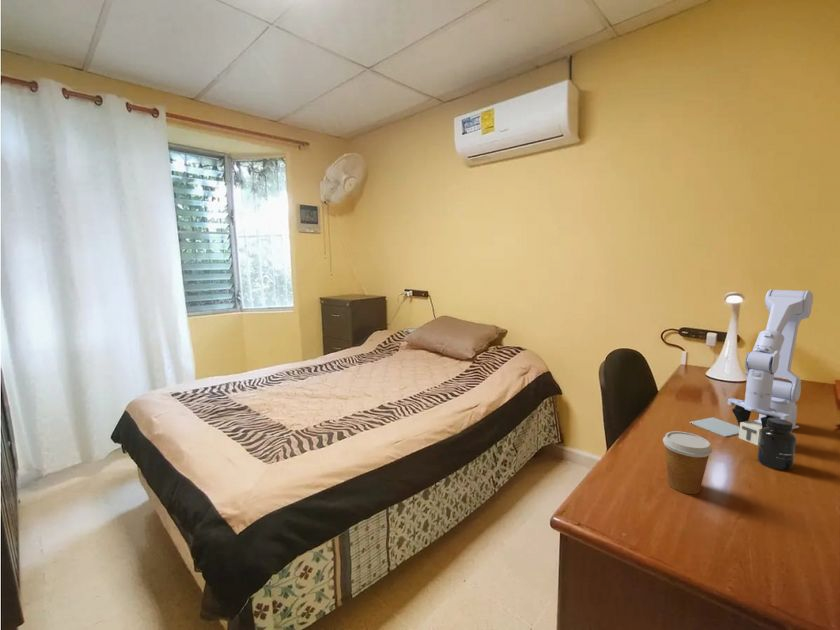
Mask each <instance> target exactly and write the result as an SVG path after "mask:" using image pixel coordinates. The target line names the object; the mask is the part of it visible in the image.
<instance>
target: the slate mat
mask: <svg viewBox="0 0 840 630" xmlns="http://www.w3.org/2000/svg"><path fill="white" fill-rule="evenodd" d="M691 423H692V425H693V424H694V426H695V427H698V428H701V429H703V430H707V431H709V432H712V433H713V434H716V435H720V436H722V437H724V438H727V437H731V436H736V435H739V425H736V424H733V423H731V422H727V421H725V420H721V419H718V418H716V417H713V416H712V417H708V418H703V419H697V420H694V421H688V424H691Z"/></svg>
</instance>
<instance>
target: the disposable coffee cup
mask: <svg viewBox="0 0 840 630" xmlns="http://www.w3.org/2000/svg"><path fill="white" fill-rule="evenodd" d="M662 443H663V445H664V451H665V452H664V453H665V464H666V465H665V466H666V477H667V478H666V479H667V484H668V486H669V487H670V488H671V489H673V490H675V491H677V492H679V493H682V494H687V495H696V494H699V493H700V491H701V487H702V483H703V479H704V476H705V472H706V468H707V464H708V459H709V457H710V455H711V454H712V452H713V448H712V447H711V443H710V442H709V440H708V439H706V438H704V437H702V436H701V435H698V434H694V433H691V432H685V431H675V430H673V431H668V432H666V433H665V436H664V437H663V438H662Z"/></svg>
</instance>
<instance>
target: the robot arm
mask: <svg viewBox="0 0 840 630" xmlns="http://www.w3.org/2000/svg"><path fill="white" fill-rule="evenodd" d="M813 299H814V294H813V292H812V291H811V290H794V289H793V290H790V289H774V288H772V289H769V290H767V292H766V295H765V299H764V304H765V307H766V309H767V311H768V313H769V316H768V319H767V324H766V327H765V330H762V331H760V332H759V333H758V335H757V338H756V341H755V343H754V345H753V348H752V351H748V352H747V354H746V356H745V360H744V367H745V375H746V385H745V394H744V400H743V399H738V398H734V397H729V398H728V399H727V406H728V405H729V406H734V408H732V409H731V410H732V413H733V415H734V417H735V418H736V421H737V423H738V425H737V426H738V427H739V428H740V422H745V421H749V420H750V416H751V414H752V412H753V413H756V414H759V415H758V419H756V420H755V419H754V420H753V421H756V422H758V423H761V424H762V429H763V428H764V427H767V426H766V423H767V419H768V418H779V419H783V420H786V421H789V422H791V423H792V424H793V426H792V430H796V429H799V428H800V426H799V425H796V424H797V416H798V414H797V413H798V405H797V404H796V402H798V401H799V399H800V396H801V391H802V386H801V385H802V380H801V377H800V376H798V375H797V374H795V373H794V372H793V371H792V370H791V369H792V364H793V359H794V354H795V353H794V352H795V347H796V341H797V337H798V332H799V326H800V324H801V321H802V320H805V319H808V318H810V315H811V313H812V307H813V301H814V300H813ZM777 378H778V379H777ZM782 379H783V380H782Z"/></svg>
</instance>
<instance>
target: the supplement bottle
mask: <svg viewBox="0 0 840 630" xmlns="http://www.w3.org/2000/svg"><path fill="white" fill-rule="evenodd" d="M766 426H767V427H764V428H763V429H761V432H760V440H759V445H758V448H757V449H758V450H757V457H756V458H757V461H758V462H759V463H760V464H762V465H764V466H765V467H768V468H770V469H774V470H778V471H791V470H792V469H793V465H794V459H795V454H796V453H795V452H796V444H797V437H796V435H795V434H794V433H793V429H792V426H793V424H792V423H791V422H789V421H786V420H783V419H779V418H768V419H767V423H766Z"/></svg>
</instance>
